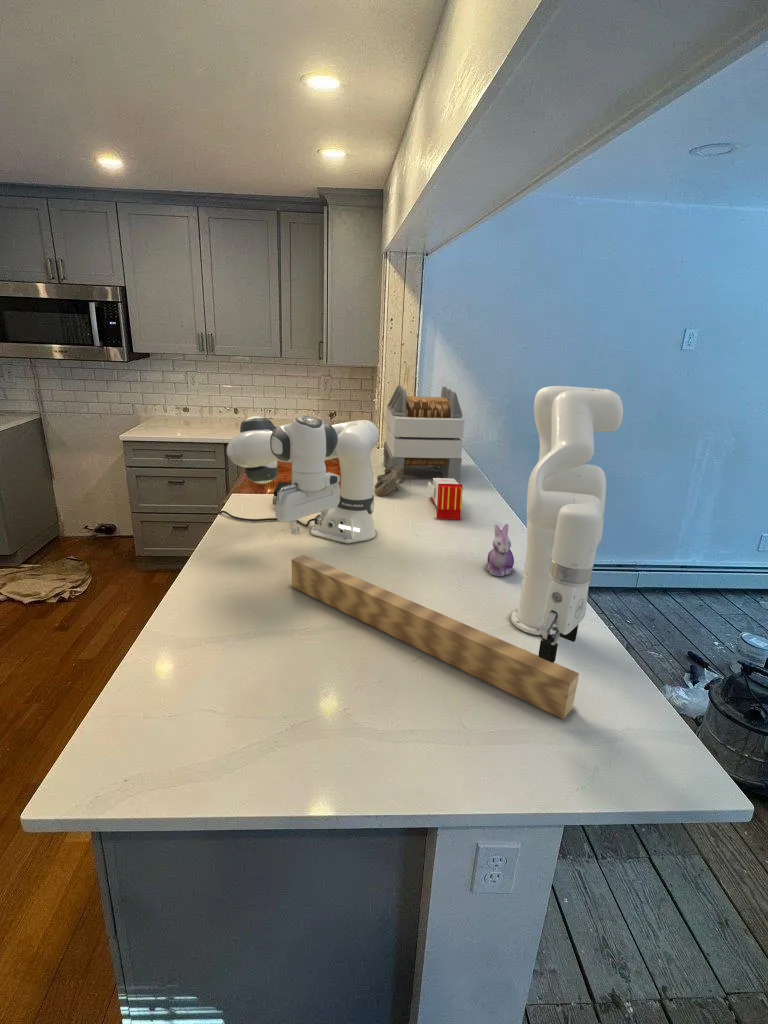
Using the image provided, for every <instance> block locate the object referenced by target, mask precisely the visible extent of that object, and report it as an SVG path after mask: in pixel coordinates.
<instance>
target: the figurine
mask: <svg viewBox="0 0 768 1024" xmlns="http://www.w3.org/2000/svg"><path fill="white" fill-rule="evenodd" d="M493 527H494V528H493V529H494V538H493V540H492V547H493V548H492V549H491V550H490V551H489V552H488V553H487V562H486V570H487V571H488V572H489V574H490V575H492V576H495V577H504V576H507V575H510V574H511V573H512V571H513V567H514V564H515V559H514V558H515V557H514V554H513V551H512V550H511V547H512V542H511V539H510V537H509V535H508V533H509V527H510V526H509V523H505V524H504V526H503V527H502V529H501V528H500V527H499V525H498V524H494V526H493Z"/></svg>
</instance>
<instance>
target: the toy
mask: <svg viewBox="0 0 768 1024" xmlns="http://www.w3.org/2000/svg"><path fill="white" fill-rule="evenodd" d="M463 485H464V484H463V483H460V482H459V483H458V482H457V481H456V480H455V479H454V478H444V477H432V482H431V481H428V482H427V493H428V494H429V498H430V500H431V501H432V502H433V504H435V506H436V519H437V520H461V518H462V516H461V515H462V507H463V490H464V487H463Z"/></svg>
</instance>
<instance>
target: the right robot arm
mask: <svg viewBox="0 0 768 1024" xmlns="http://www.w3.org/2000/svg"><path fill="white" fill-rule="evenodd" d="M533 414H534V415H533V416H534V422H535V427H536V431H537V435H538V439H539V451H538V461H537V462H536V464H535V466H534V467H533V469H532V471H531V473H530V475H529V479H528V483H527V495H526V496H527V497H526V516H527V519H526V552H525V560H524V567H523V574H522V575H523V576H522V580H521V581H522V583H521V590H520V597H519V603H518V608H517V609H515V610H513V611H512V612H511V615H510V621H511V623H512V624H513V625H514V626H515V627H516V628H517V629H518V630H520V631H522V632H524V633H527V634H531V635H534V636H539V637H540V638H539V640H540V642H539V649H538V654H537V655H538V656H539V657H540V658H542V659H545V660H547V661H549V662H552V663H556V660H557V659H556V658H557V653H558V647H559V643H557V642H558V640H559V637H560V638H562V639H564V640H567V641H569V642H572V643H575V642H576V640H577V637H578V636H577V635H578V629H579V625H580V624H581V623H582V621H583V620H584V619H585V617H586V610H587V603H588V597H589V596H588V595H589V587H590V583H591V582H592V581H591V580H592V575H593V570H594V565H595V559H596V554H597V548H598V547H599V546H600V544H601V542H602V539H603V532H604V520H605V507H606V496H607V477H606V473H605V471H604V470H603V469H602V467H600V466H598V465H595V464H587V463H588V462H590V461H591V460H592V459H593V457H594V454H595V436H594V434H595V433H594V432H599V433H600V432H602V433H614V432H616V431H617V430H618V429H619V428H620V427H621V425H622V422H623V419H624V406H623V401H622V399H621V397H620V395H619V394H618V393H617V392H615V391H613V390H611V389H607V388H597V387H580V386H572V385H571V386H568V385H550V386H545V387H542V388H540V389H539V390H538V391H537V392H536V394H535V397H534V403H533Z"/></svg>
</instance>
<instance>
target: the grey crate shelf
mask: <svg viewBox="0 0 768 1024" xmlns="http://www.w3.org/2000/svg"><path fill="white" fill-rule="evenodd" d="M440 393H441V394H440V396H415V395H414V396H413V395H412V396H411V395H407V394H408V393H407V390H406V389H404V388H403V387H402V385H399V384H398V385H397V386H396V388H395V390H394V392H393V394H392V395H391V398H390V400H389V402H388V404H387V405H386V413H385V414H386V415H385V423H386V428H385V438H384V442H383V466H384V467H393V468H395V467H396V466H400V467H402V468H403V469H405V466H406V467H407V466H411V467H412V466H413V467H415V466H416V467H417V466H418V467H436V468H437V470H438V469H439V473H440V474H441V475H443V478H454V479H455V480H456V481H457V482H458V483H459V484H460V483H461V472H462V461H463V460H462V453H463V442H464V441H463V440H462V439H463V438H464V431H465V430H464V429H465V419H464V418H463V411H462V408H461V405H460V402H459V398H458V395H457V392H455V391H453V390H452V389H451V388H447V386H442V387H441V392H440ZM402 482H403V479H402V480H401V481H399V483H402Z"/></svg>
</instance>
